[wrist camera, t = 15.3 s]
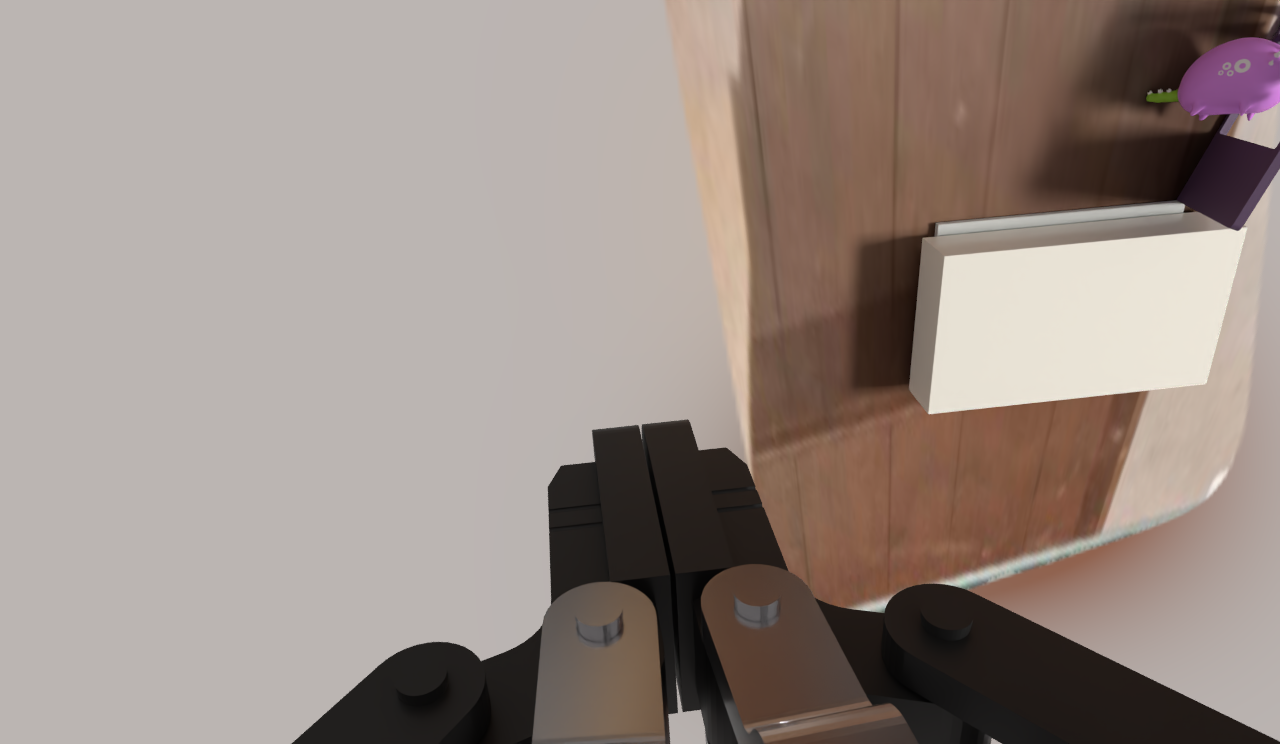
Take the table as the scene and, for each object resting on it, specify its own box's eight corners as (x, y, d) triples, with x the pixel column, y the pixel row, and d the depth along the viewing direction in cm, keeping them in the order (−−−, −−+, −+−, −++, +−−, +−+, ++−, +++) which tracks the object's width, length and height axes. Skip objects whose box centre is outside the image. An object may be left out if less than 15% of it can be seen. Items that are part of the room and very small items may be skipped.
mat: (935, 222, 42) (938, 224, 41) (1181, 199, 43) (1185, 201, 42) (919, 392, 46) (921, 395, 46) (1143, 368, 47) (1147, 370, 46)
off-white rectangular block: (944, 256, 39) (1247, 227, 40) (921, 236, 42) (1208, 209, 43) (928, 414, 43) (1206, 384, 44) (907, 388, 45) (1172, 359, 46)
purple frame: (1257, 238, 36) (1403, 12, 33) (1133, 192, 37) (1264, -37, 33) (1198, 208, 43) (1316, 14, 39) (1092, 169, 43) (1199, -27, 39)
